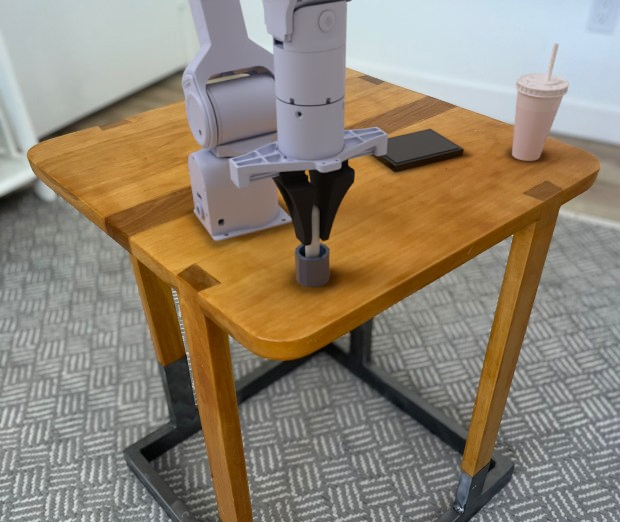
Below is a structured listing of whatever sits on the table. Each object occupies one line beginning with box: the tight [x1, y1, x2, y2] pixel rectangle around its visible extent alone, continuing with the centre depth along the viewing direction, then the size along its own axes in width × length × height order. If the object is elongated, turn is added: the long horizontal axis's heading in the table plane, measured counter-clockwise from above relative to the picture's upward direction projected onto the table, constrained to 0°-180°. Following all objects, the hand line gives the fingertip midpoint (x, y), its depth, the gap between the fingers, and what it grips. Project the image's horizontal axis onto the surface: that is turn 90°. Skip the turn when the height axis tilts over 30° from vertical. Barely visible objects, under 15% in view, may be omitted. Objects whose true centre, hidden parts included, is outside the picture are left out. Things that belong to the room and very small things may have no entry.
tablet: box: [371, 128, 465, 173], centre depth 85 cm, size 11×8×1 cm
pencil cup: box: [294, 242, 331, 288], centre depth 62 cm, size 3×3×4 cm
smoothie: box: [511, 42, 570, 162], centre depth 79 cm, size 6×6×14 cm
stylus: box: [305, 205, 321, 258], centre depth 60 cm, size 1×1×8 cm
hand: (312, 238), depth 60 cm, fingers closed on stylus, 1 cm apart
